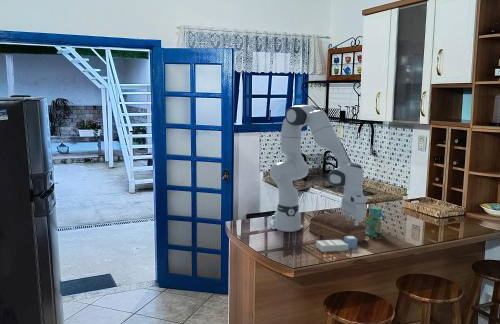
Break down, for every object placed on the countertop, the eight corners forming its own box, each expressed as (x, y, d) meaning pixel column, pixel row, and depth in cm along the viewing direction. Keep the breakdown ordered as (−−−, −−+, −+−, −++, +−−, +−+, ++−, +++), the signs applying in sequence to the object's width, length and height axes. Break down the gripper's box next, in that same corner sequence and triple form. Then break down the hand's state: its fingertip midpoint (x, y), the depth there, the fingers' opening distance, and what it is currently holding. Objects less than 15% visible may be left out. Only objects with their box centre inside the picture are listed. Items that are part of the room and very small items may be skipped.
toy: (369, 230, 257) (370, 205, 255) (386, 234, 251) (388, 208, 249) (362, 234, 249) (363, 208, 247) (379, 238, 243) (381, 211, 241)
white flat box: (315, 246, 228) (316, 240, 227) (341, 244, 231) (341, 239, 230) (321, 251, 220) (322, 245, 220) (348, 250, 223) (348, 244, 223)
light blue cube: (343, 245, 230) (343, 235, 229) (352, 245, 231) (352, 235, 230) (347, 249, 225) (348, 238, 224) (356, 248, 226) (357, 238, 225)
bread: (328, 226, 264) (329, 207, 262) (367, 240, 240) (368, 219, 238) (306, 230, 254) (307, 211, 253) (345, 245, 230) (346, 224, 229)
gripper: (338, 191, 233) (337, 217, 235) (356, 200, 213) (355, 228, 215) (350, 191, 234) (348, 217, 236) (368, 200, 215) (367, 228, 217)
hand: (352, 222), depth 226 cm, fingers open, 8 cm apart
